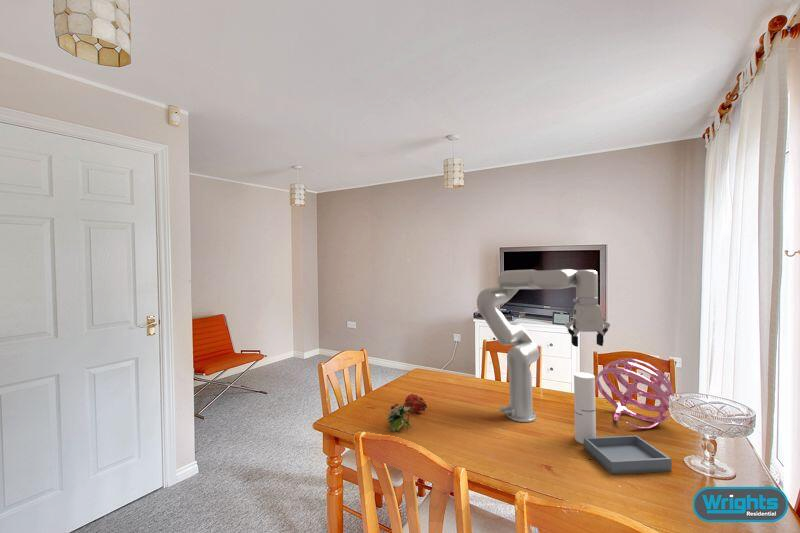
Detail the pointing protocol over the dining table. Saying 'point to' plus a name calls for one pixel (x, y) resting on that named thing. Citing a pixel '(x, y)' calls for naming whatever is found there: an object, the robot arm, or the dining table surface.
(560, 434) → the dining table surface
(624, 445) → the tray
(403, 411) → the green leafy plant
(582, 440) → the cylindrical container
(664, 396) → the spiral basket
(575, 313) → the robot arm
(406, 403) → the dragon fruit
